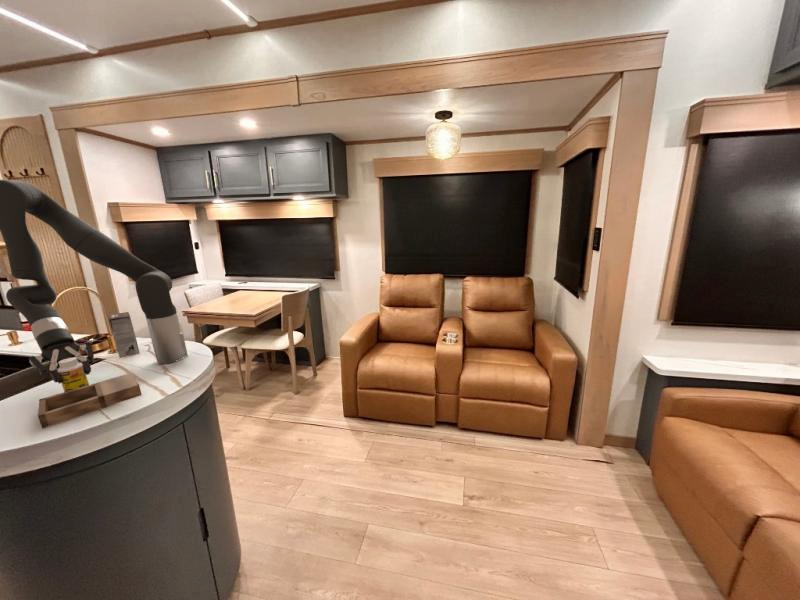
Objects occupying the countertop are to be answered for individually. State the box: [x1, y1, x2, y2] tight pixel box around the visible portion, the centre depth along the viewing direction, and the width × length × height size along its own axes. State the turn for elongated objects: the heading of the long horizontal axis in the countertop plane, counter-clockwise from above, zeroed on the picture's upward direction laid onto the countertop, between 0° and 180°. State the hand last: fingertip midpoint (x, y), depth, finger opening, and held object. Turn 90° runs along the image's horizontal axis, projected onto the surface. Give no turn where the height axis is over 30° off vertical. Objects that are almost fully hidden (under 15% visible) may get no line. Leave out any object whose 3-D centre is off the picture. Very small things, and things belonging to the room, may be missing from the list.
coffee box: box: [107, 311, 140, 359], centre depth 126 cm, size 9×6×16 cm
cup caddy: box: [37, 372, 143, 429], centre depth 91 cm, size 20×12×4 cm, turn 137°
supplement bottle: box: [56, 357, 90, 392], centre depth 98 cm, size 6×6×10 cm
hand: (74, 377), depth 97 cm, fingers closed on supplement bottle, 5 cm apart
